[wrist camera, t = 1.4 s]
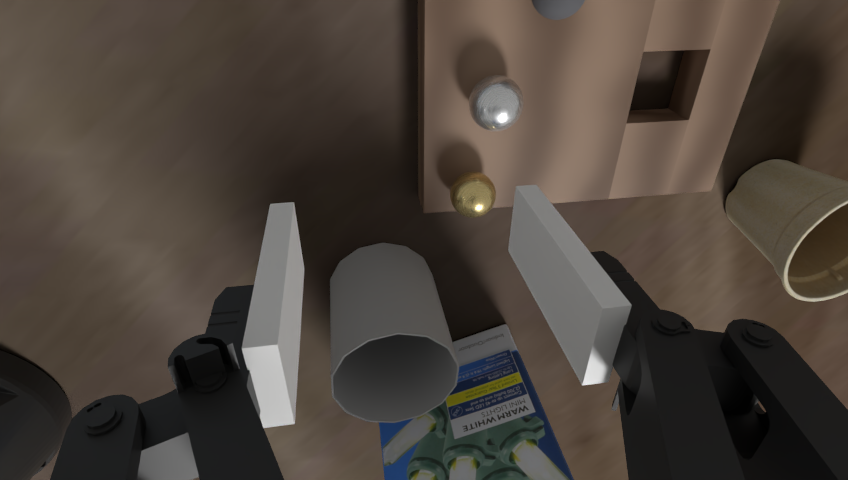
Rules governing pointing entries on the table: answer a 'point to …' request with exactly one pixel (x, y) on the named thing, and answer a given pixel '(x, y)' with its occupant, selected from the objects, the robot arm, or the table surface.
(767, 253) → the flower pot
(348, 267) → the cup
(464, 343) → the string lights box
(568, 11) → the rubber ball
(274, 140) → the table surface
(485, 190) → the brass ball
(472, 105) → the steel ball
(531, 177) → the board
